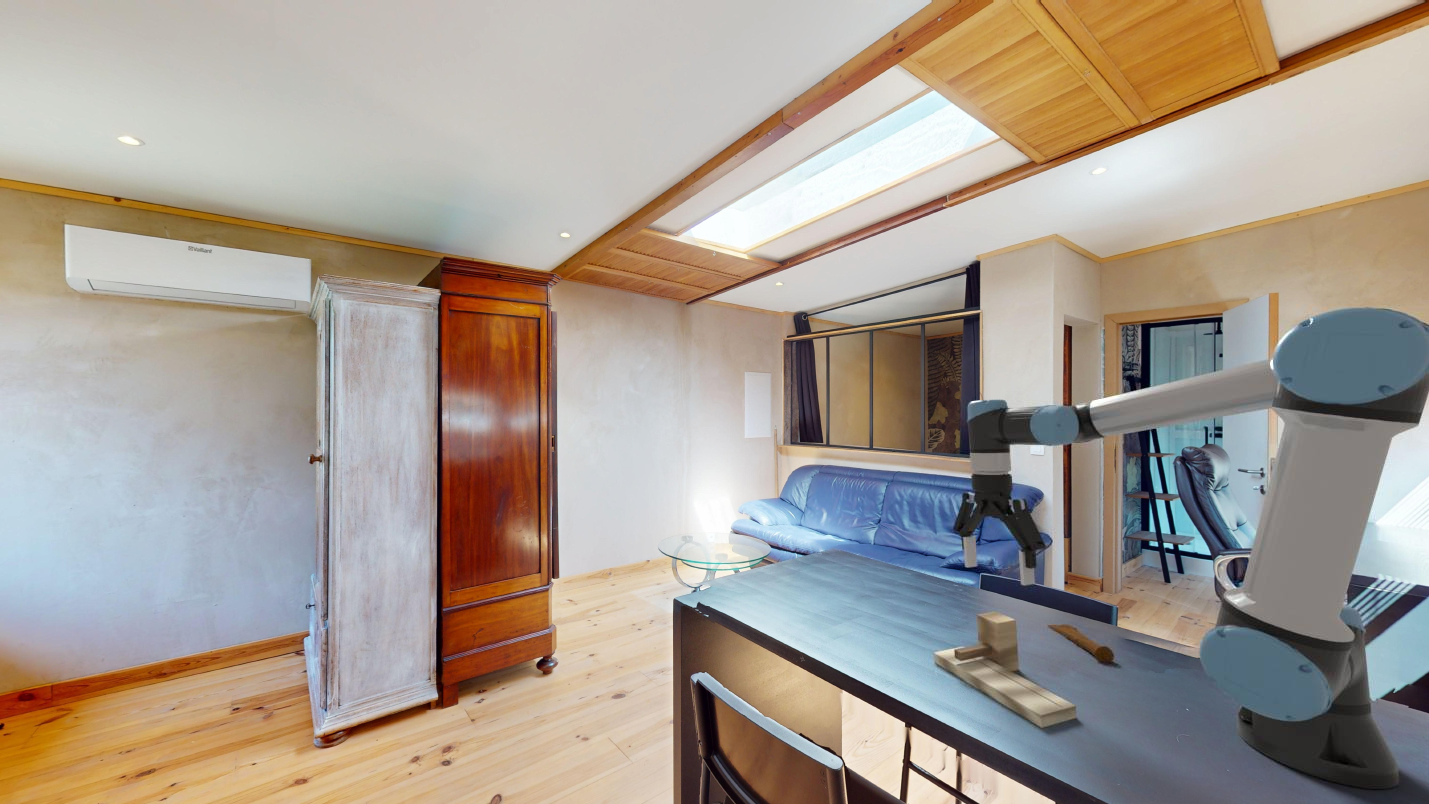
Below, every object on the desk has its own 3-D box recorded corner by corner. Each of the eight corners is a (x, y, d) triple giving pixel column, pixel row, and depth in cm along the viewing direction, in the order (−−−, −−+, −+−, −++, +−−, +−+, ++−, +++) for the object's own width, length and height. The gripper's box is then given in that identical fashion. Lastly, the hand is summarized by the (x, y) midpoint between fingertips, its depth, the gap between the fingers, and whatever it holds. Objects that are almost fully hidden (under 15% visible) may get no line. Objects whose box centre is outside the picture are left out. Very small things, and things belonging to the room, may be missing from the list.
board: (1076, 717, 82) (1075, 705, 82) (1041, 727, 80) (1040, 715, 80) (964, 655, 105) (963, 646, 105) (934, 662, 102) (933, 652, 103)
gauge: (1018, 669, 98) (1015, 619, 99) (968, 681, 94) (965, 629, 95) (997, 658, 103) (995, 611, 104) (949, 669, 99) (946, 620, 100)
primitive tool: (1046, 627, 119) (1045, 612, 120) (1070, 627, 119) (1069, 613, 119) (1097, 665, 100) (1096, 647, 101) (1126, 666, 100) (1125, 648, 100)
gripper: (1062, 476, 91) (1071, 590, 90) (958, 468, 115) (964, 558, 114) (1033, 478, 89) (1041, 595, 88) (933, 469, 113) (938, 562, 111)
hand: (997, 574), depth 101 cm, fingers open, 13 cm apart
